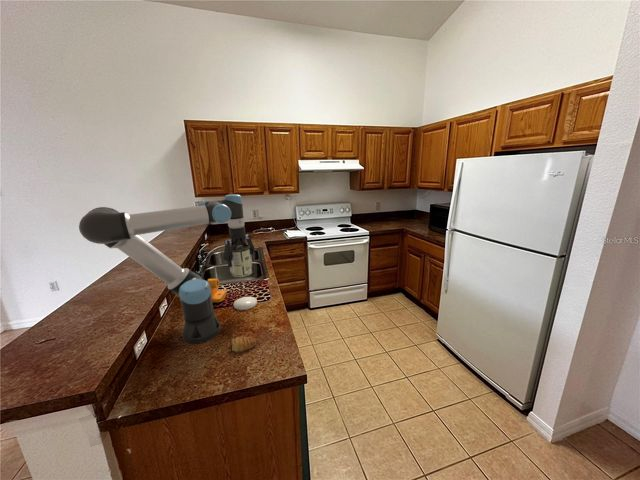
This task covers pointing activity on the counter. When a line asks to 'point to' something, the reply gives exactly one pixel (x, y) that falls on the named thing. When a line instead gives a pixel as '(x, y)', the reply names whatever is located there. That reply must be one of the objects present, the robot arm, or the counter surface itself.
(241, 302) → the plate
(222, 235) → the counter surface
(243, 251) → the coffee can
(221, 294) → the bracket
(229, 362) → the counter surface
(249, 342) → the pastry
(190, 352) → the counter surface
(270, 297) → the counter surface
